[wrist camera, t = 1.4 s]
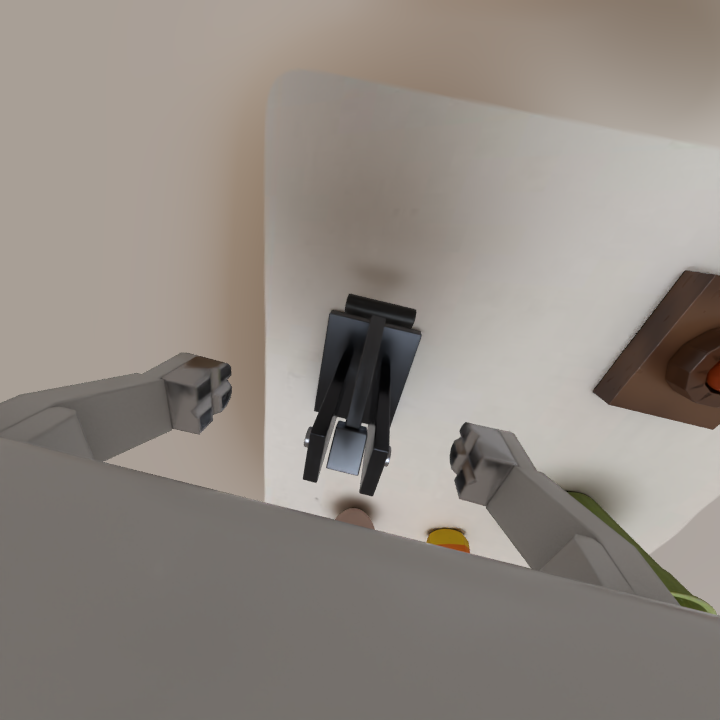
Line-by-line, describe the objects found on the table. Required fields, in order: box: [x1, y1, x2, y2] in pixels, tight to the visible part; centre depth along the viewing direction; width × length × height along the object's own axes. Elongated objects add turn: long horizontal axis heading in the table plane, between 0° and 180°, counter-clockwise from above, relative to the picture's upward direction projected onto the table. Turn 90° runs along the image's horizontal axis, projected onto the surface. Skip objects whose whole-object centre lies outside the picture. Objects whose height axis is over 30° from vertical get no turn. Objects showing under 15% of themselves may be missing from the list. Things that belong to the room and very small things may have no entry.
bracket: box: [303, 310, 422, 496], centre depth 22 cm, size 12×9×13 cm
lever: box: [326, 294, 416, 476], centre depth 18 cm, size 12×5×2 cm, turn 168°
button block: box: [593, 271, 720, 430], centre depth 21 cm, size 12×10×4 cm
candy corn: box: [426, 529, 470, 553], centre depth 35 cm, size 6×3×8 cm, turn 103°
